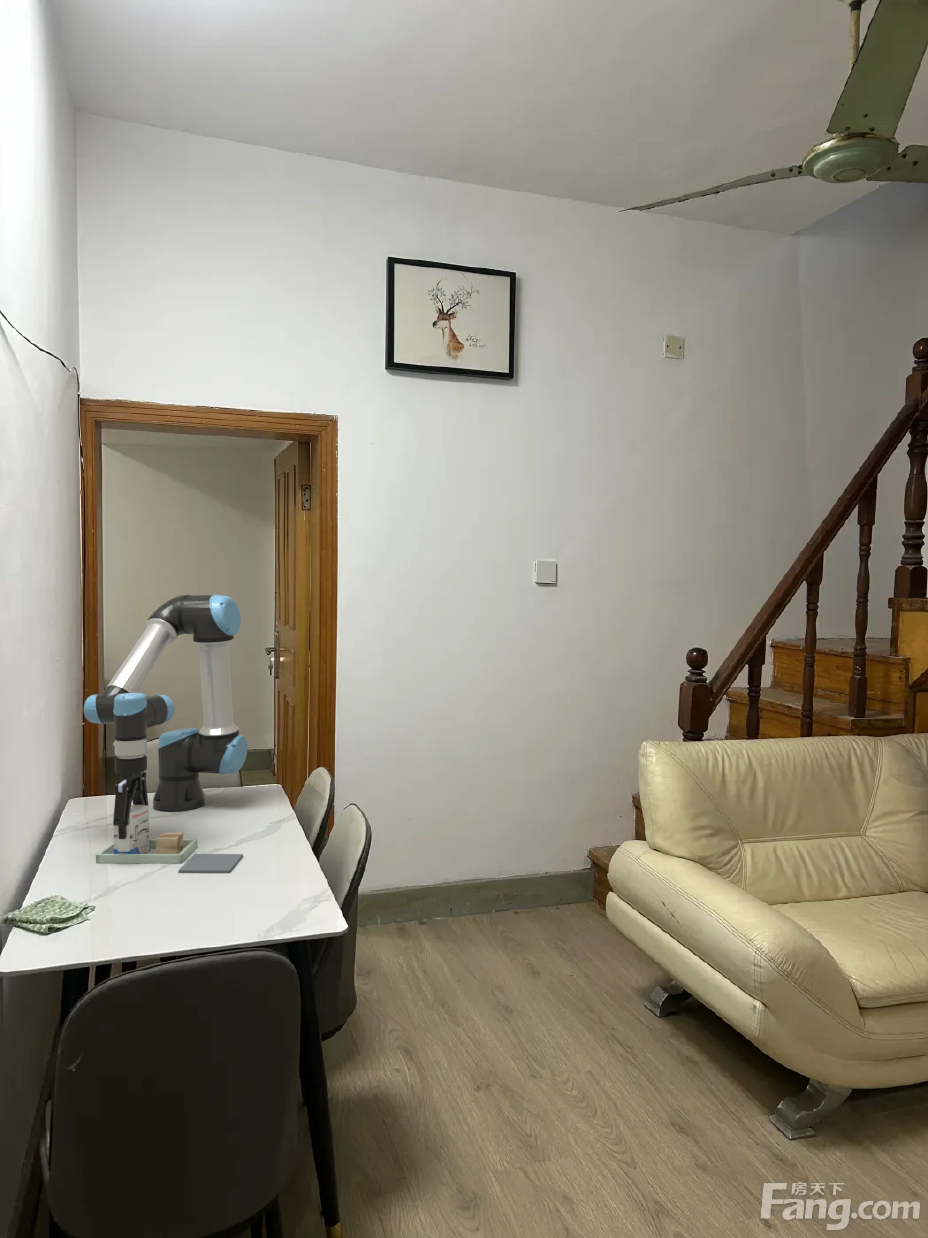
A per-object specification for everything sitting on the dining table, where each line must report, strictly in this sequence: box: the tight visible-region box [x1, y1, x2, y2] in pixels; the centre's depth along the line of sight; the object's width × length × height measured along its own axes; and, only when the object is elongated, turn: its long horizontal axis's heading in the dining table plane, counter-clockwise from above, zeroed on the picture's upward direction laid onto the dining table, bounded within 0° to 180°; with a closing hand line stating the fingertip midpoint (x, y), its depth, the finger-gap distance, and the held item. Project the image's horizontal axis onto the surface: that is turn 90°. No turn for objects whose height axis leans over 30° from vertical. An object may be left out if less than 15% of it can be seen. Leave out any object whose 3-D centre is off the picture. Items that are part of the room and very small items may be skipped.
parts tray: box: [95, 838, 198, 864], centre depth 209 cm, size 13×21×2 cm, turn 90°
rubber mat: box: [178, 853, 244, 874], centre depth 202 cm, size 12×12×1 cm
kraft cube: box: [155, 832, 184, 854], centre depth 209 cm, size 5×5×5 cm
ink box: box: [112, 803, 150, 854], centre depth 209 cm, size 9×5×12 cm, turn 168°
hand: (131, 844), depth 209 cm, fingers closed on ink box, 9 cm apart
